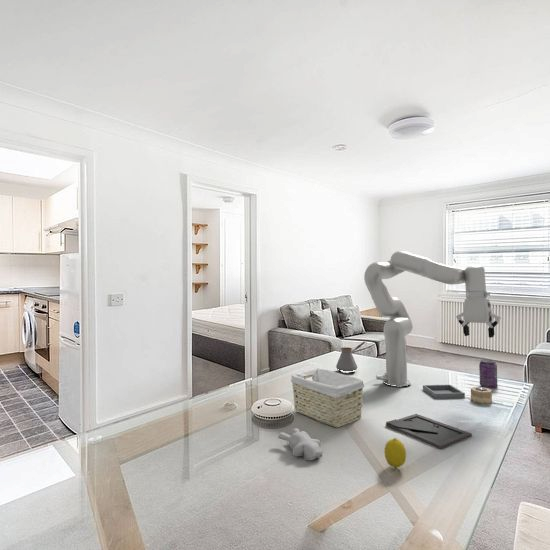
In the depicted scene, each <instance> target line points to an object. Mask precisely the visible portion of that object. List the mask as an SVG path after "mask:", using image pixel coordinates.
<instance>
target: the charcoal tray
mask: <svg viewBox="0 0 550 550" xmlns="http://www.w3.org/2000/svg"><path fill="white" fill-rule="evenodd" d="M422 390H423V391H424V392H425V393H426V394H428V395H429V396H431V397H432V398H433V399H440V400H441V399H465V398H466V395H465V394H466V393H465V392H463V391H462V390H460V389H458V388H457V387H455V386H453V385H452V384H423V385H422Z"/></svg>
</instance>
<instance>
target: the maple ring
mask: <svg viewBox="0 0 550 550" xmlns="http://www.w3.org/2000/svg"><path fill="white" fill-rule="evenodd" d="M477 387H478V386H472V387H471V388H470V398H471V400H472V401H471V400H470V401H471V402H473V401H474V402H478V403H483V404H482V405H486V404H485V403H491V402H492V401H493V390H492V389H490V388H488V387H483V386H481V387H482V388H485V391H479V390H477ZM474 402H473V403H474Z"/></svg>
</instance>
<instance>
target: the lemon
mask: <svg viewBox="0 0 550 550" xmlns="http://www.w3.org/2000/svg"><path fill="white" fill-rule="evenodd" d="M384 458H385V460H386V463H388V465H390V466H391V467H393V468H394V469H397V468H400V467H402V466H403V465H404V464H405V462H406V459H407V451H406V447H405V444H404V443H403V442H402V441H400V440H399V439H397V438H395V437H394V438H392V439H389V440H388V441H387V442H386V443H385V445H384Z"/></svg>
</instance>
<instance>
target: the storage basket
mask: <svg viewBox="0 0 550 550" xmlns="http://www.w3.org/2000/svg"><path fill="white" fill-rule="evenodd" d="M290 378H291V379H290V382H291V384H292V385H291V386H292V390H293V391H292V393H293V401H294V403H293V404H294V410H295V412H297V413H299V414H302V415H304V416H307V417H308V418H312V419H314V420H316V421H317V422H320V423H323V424H326V425H328V426H331V427H334V428H337V429H338V428H341V427H343V426H347V425H349V424H350V423H354V422H356V421H358V420H360V419H361V418H362V408H363V390H364V387H365V385H364V384H365V383H364V380H363V379H360V378H357V377H354V376H351V375H348V374H347V375H346V374H345V373H341V372H335V371H332V370H328V369H323V368H320V367H319V368H314V369H310V370H305V371H301V372H297V373H294V374H292V375H291V377H290ZM309 378H312V379H309Z"/></svg>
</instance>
